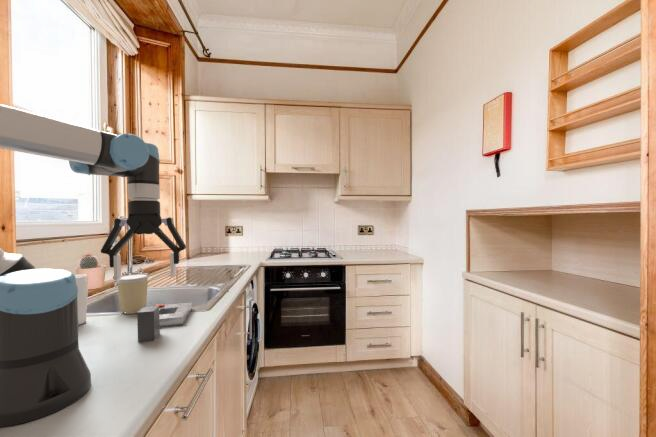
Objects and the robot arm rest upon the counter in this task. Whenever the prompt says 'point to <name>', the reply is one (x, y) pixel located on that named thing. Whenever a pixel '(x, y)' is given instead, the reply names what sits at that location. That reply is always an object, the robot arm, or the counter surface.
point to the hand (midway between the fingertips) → (146, 277)
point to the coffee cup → (132, 293)
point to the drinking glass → (82, 297)
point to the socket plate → (173, 313)
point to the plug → (148, 323)
